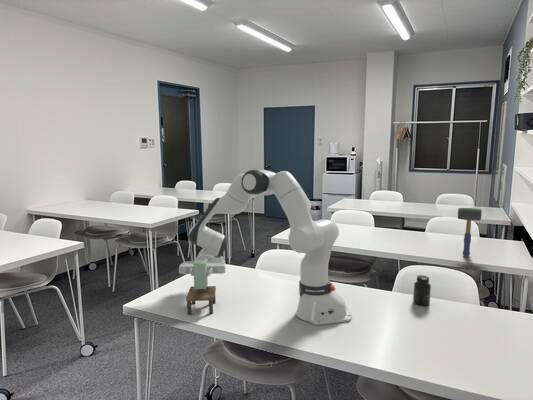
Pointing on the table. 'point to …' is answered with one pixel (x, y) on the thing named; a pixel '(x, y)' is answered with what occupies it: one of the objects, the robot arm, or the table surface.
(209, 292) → the peg shelf
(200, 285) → the green block
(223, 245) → the robot arm
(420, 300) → the supplement bottle
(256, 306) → the table surface
